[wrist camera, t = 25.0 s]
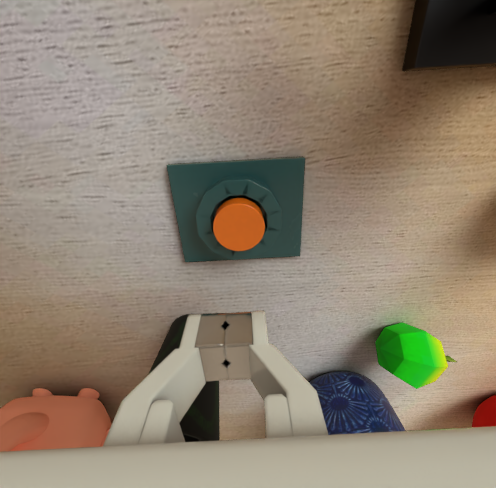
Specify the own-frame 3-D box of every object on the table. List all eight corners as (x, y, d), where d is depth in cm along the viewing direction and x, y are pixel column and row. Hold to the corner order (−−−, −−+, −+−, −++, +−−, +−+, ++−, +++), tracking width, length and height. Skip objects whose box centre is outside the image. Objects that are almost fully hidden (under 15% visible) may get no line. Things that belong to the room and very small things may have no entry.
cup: (175, 296, 27) (131, 418, 16) (239, 321, 28) (237, 445, 18) (152, 342, 30) (101, 470, 19) (210, 362, 31) (194, 489, 21)
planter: (397, 368, 33) (462, 474, 23) (356, 420, 38) (394, 524, 28) (307, 353, 31) (337, 462, 21) (278, 410, 37) (291, 517, 27)
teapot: (92, 447, 40) (34, 576, 29) (-14, 402, 34) (-139, 542, 23) (152, 411, 36) (112, 545, 25) (44, 351, 30) (-74, 493, 19)
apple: (402, 392, 23) (490, 403, 24) (402, 320, 24) (484, 333, 25) (359, 372, 30) (428, 380, 31) (360, 316, 31) (426, 326, 32)
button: (217, 244, 22) (215, 252, 20) (212, 198, 20) (209, 205, 18) (264, 241, 22) (265, 250, 20) (263, 196, 20) (264, 202, 18)
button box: (186, 258, 25) (180, 273, 22) (168, 163, 20) (159, 169, 18) (298, 252, 24) (304, 266, 22) (303, 156, 20) (310, 161, 18)
